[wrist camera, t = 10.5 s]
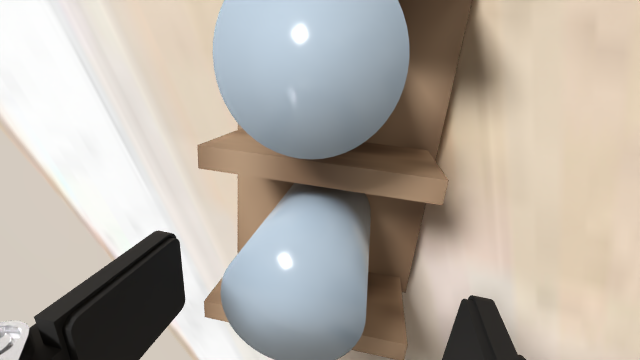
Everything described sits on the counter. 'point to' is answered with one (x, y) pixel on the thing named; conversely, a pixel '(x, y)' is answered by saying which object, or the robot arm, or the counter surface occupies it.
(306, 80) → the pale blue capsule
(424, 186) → the rack
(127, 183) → the counter surface
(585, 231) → the counter surface
